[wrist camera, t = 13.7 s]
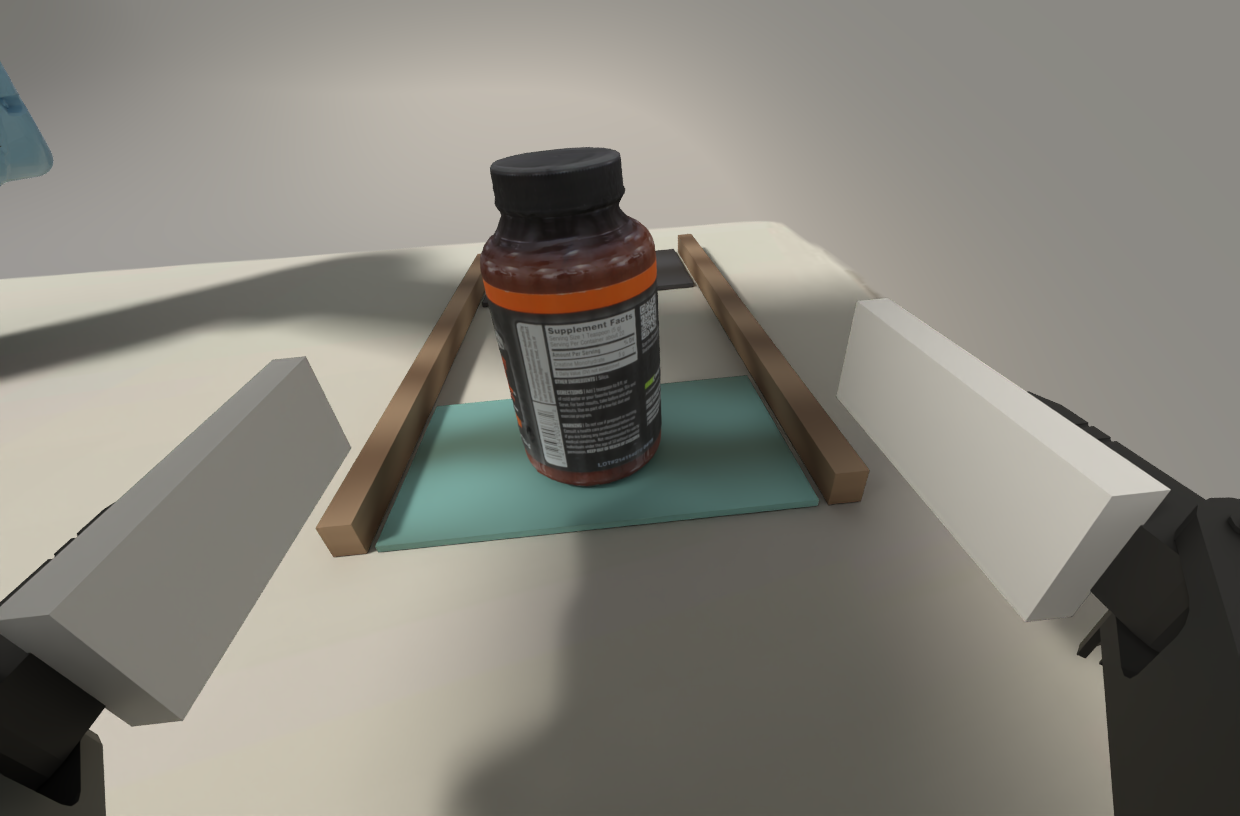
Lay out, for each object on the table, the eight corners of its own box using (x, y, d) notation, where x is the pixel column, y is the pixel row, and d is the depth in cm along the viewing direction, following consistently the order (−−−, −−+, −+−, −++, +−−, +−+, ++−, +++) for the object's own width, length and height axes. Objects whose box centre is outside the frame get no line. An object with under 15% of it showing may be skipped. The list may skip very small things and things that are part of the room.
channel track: (860, 501, 18) (869, 470, 17) (333, 556, 17) (315, 528, 16) (690, 250, 44) (691, 233, 43) (481, 270, 44) (477, 254, 43)
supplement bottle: (532, 412, 23) (477, 151, 17) (654, 401, 23) (644, 137, 17) (517, 501, 18) (430, 179, 12) (671, 487, 18) (665, 159, 12)
